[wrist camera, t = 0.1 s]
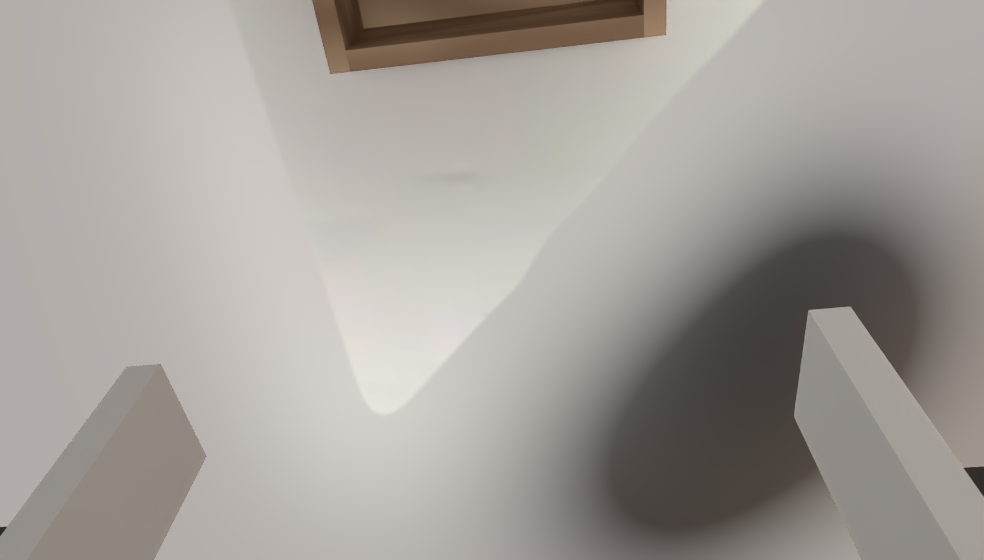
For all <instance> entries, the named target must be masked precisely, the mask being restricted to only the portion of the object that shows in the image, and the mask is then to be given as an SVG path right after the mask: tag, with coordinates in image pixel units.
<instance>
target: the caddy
mask: <svg viewBox="0 0 984 560" xmlns="http://www.w3.org/2000/svg"><path fill="white" fill-rule="evenodd" d="M312 1H313V5H314V9H315V14H316V18H317V22H318V26H319V30H320V34H321V38H322V42H323V46H324V50H325V54H326V58H327V62H328V66H329V70H330V74H334V73H342V72H351V71H359V70H368V69H377V68H385V67H394V66H402V65H411V64H420V63H428V62H437V61H445V60H454V59H462V58H471V57H480V56H488V55H497V54H505V53H514V52H523V51H531V50H540V49H548V48H557V47H566V46H574V45H583V44H591V43H600V42H609V41H617V40H626V39H634V38H643V37H651V36H660V35H666V0H312Z"/></svg>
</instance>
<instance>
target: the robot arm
mask: <svg viewBox="0 0 984 560" xmlns="http://www.w3.org/2000/svg"><path fill="white" fill-rule="evenodd" d="M794 417H795V419H796V422H797V423H798V426H799V428H800V430H801V432H802V434H803V436H804V438H805V440H806V443H807V445H808V447H809V449H810V451H811V453H812V455H813V458H814V460H815V462H816V464H817V466H818V468H819V470H820V472H821V474H822V477H823V479H824V481H825V483H826V485H827V487H828V489H829V491H830V493H831V496H832V498H833V500H834V502H835V504H836V506H837V508H838V511H839V513H840V514H841V517H842V519H843V521H844V523H845V525H846V528H847V530H848V532H849V534H850V536H851V538H852V540H853V542H854V545H855V547H856V549H857V551H858V553H859V555H860V557H861V559H862V560H984V467H970V468H963V467H962V465H961V464H960V462H959V461H958V460H957V458H956V457H955V455H954V454H953V452H952V451H951V450H950V448H949V447H948V445H947V444H946V442H945V441H944V440H943V438H942V437H941V435H940V434H939V432H938V431H937V430H936V428H935V427H934V425H933V424H932V423H931V421H930V420H929V418H928V417H927V415H926V414H925V412H924V411H923V410H922V408H921V407H920V405H919V404H918V403H917V401H916V400H915V398H914V397H913V395H912V394H911V393H910V391H909V390H908V388H907V387H906V385H905V384H904V383H903V381H902V380H901V378H900V377H899V375H898V374H897V373H896V371H895V370H894V368H893V367H892V365H891V364H890V363H889V361H888V360H887V359H886V357H885V355H884V354H883V353H882V351H881V350H880V348H879V347H878V345H877V344H876V343H875V341H874V340H873V338H872V337H871V336H870V334H869V333H868V331H867V330H866V328H865V327H864V326H863V324H862V323H861V321H860V320H859V318H858V317H857V316H856V314H855V313H854V311H853V310H852V308H851V307H842V308H830V309H817V310H809V311H808V319H807V325H806V332H805V340H804V347H803V355H802V361H801V369H800V376H799V384H798V391H797V398H796V405H795V412H794ZM205 458H206V454H205V452H204V450H203V448H202V446H201V444H200V442H199V440H198V438H197V436H196V434H195V432H194V430H193V428H192V426H191V424H190V422H189V420H188V418H187V416H186V414H185V412H184V410H183V408H182V406H181V404H180V402H179V400H178V398H177V396H176V394H175V392H174V390H173V388H172V386H171V384H170V382H169V380H168V378H167V376H166V374H165V372H164V370H163V368H162V366H161V364H157V365H143V366H131V367H126V369H125V370H124V371H123V372H122V374H121V375H120V376H119V378H118V379H117V380H116V382H115V383H114V384H113V386H112V387H111V388H110V390H109V391H108V392H107V394H106V395H105V397H104V398H103V399H102V401H101V402H100V403H99V404H98V406H97V407H96V409H95V410H94V411H93V413H92V414H91V415H90V417H89V418H88V419H87V421H86V422H85V423H84V425H83V426H82V427H81V429H80V430H79V431H78V433H77V434H76V435H75V437H74V438H73V439H72V441H71V442H70V443H69V445H68V446H67V448H66V449H65V450H64V452H63V453H62V454H61V455H60V457H59V458H58V459H57V461H56V462H55V463H54V465H53V466H52V468H51V469H50V470H49V472H48V473H47V474H46V476H45V477H44V478H43V480H42V481H41V482H40V484H39V485H38V486H37V488H36V489H35V490H34V492H33V493H32V494H31V496H30V497H29V498H28V500H27V501H26V503H25V504H24V505H23V506H22V508H21V509H20V511H19V512H18V513H17V514H16V516H15V517H14V519H13V520H12V521H11V523H10V524H9V525H8V526H7V527H0V560H154V559H155V557H156V554H157V553H158V551H159V549H160V547H161V545H162V543H163V541H164V539H165V537H166V535H167V533H168V531H169V529H170V527H171V525H172V523H173V521H174V519H175V517H176V515H177V513H178V511H179V509H180V507H181V505H182V503H183V501H184V499H185V498H186V496H187V494H188V492H189V490H190V488H191V486H192V484H193V482H194V480H195V478H196V476H197V474H198V471H199V470H200V468H201V466H202V464H203V462H204V460H205Z"/></svg>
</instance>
